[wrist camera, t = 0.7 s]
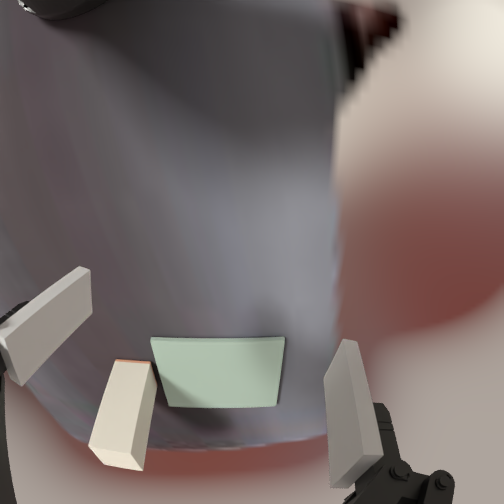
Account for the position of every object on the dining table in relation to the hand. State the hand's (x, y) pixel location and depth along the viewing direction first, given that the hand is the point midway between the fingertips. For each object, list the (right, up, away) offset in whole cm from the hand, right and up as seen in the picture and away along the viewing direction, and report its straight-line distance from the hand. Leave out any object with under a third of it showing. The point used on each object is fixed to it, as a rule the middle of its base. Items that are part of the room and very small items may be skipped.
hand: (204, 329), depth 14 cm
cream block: (-13, -13, +23) cm, 30 cm away
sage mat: (-2, -13, +24) cm, 27 cm away
